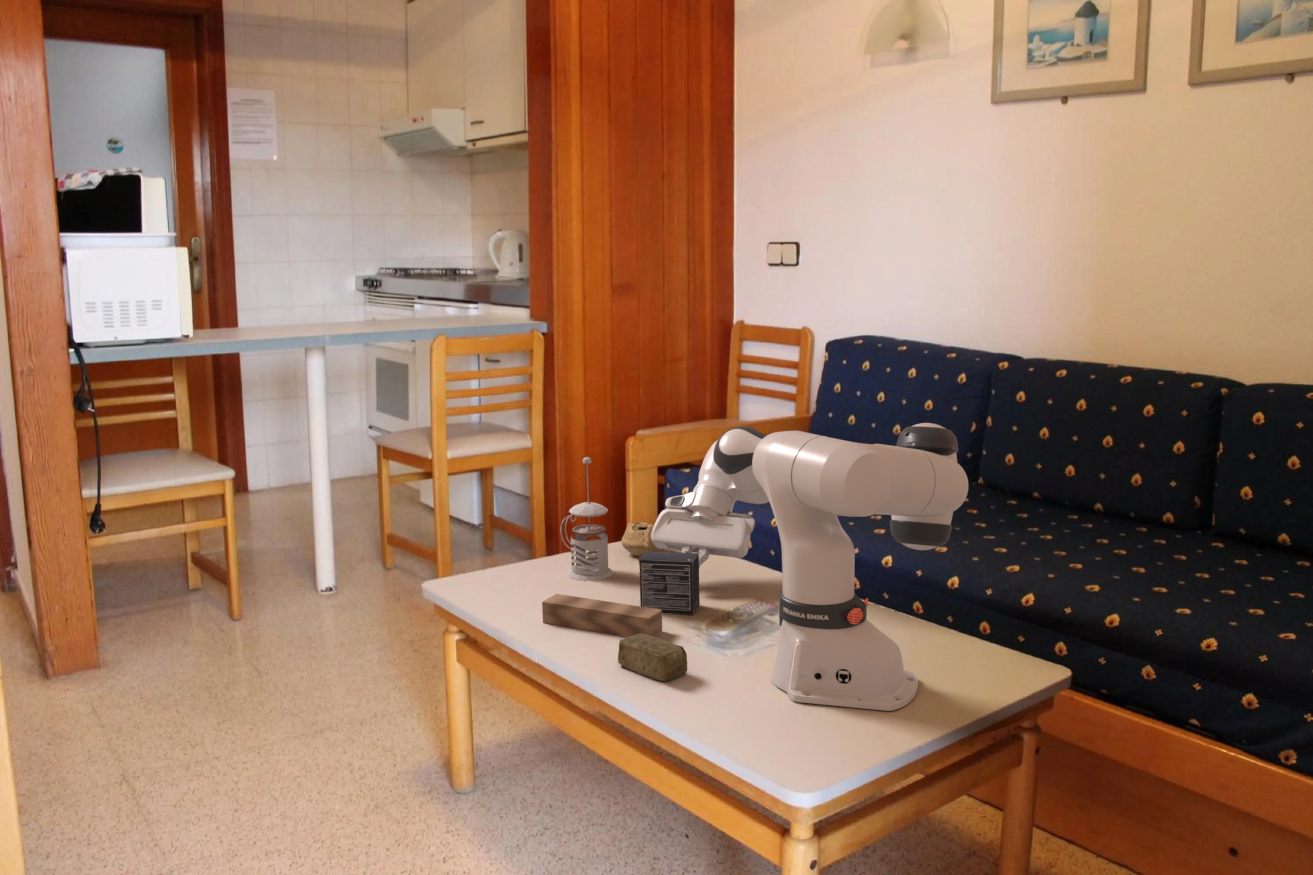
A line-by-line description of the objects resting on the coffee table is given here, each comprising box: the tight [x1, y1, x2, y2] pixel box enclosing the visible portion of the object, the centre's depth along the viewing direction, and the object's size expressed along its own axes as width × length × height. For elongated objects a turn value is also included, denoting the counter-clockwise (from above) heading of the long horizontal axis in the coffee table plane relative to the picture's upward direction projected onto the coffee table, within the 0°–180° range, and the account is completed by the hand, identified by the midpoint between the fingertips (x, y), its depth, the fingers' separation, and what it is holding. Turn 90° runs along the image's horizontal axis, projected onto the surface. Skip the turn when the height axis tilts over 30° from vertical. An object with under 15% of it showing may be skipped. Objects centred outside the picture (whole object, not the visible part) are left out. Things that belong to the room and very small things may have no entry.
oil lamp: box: [621, 521, 664, 558], centre depth 240 cm, size 11×15×8 cm
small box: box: [638, 551, 701, 616], centre depth 203 cm, size 11×6×10 cm, turn 77°
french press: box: [559, 456, 614, 582], centre depth 225 cm, size 10×12×25 cm
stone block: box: [617, 633, 688, 682], centre depth 174 cm, size 6×12×5 cm, turn 46°
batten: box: [541, 593, 663, 638], centre depth 194 cm, size 22×5×4 cm, turn 63°
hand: (689, 570), depth 211 cm, fingers closed
